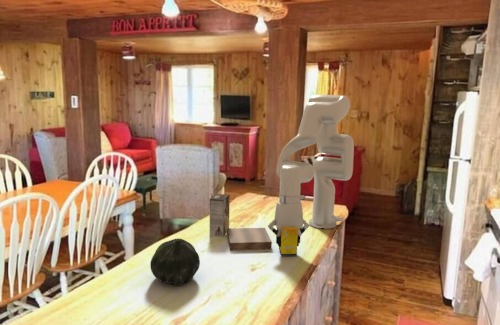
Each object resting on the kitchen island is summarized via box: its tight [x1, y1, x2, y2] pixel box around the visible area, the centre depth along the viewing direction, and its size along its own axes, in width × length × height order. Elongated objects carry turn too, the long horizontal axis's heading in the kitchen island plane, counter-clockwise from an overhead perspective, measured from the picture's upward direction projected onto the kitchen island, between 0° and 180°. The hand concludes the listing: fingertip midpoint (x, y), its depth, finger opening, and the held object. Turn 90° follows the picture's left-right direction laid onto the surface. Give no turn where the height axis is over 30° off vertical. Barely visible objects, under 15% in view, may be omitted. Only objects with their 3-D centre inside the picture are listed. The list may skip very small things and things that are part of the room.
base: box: [226, 227, 273, 251], centre depth 157 cm, size 16×16×3 cm
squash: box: [150, 238, 201, 286], centre depth 123 cm, size 14×15×15 cm
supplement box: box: [278, 227, 298, 257], centre depth 146 cm, size 6×6×11 cm
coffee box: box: [209, 193, 230, 238], centre depth 165 cm, size 9×6×16 cm
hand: (287, 244), depth 146 cm, fingers closed on supplement box, 6 cm apart
